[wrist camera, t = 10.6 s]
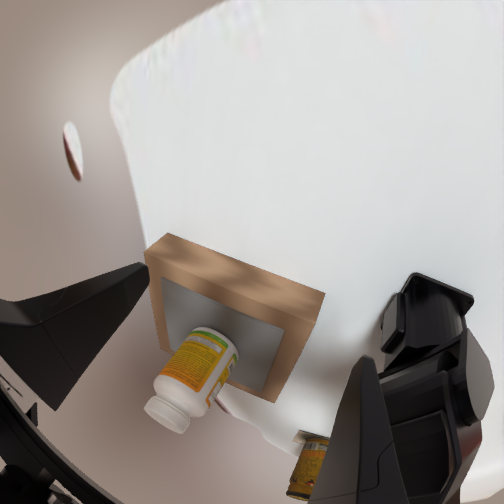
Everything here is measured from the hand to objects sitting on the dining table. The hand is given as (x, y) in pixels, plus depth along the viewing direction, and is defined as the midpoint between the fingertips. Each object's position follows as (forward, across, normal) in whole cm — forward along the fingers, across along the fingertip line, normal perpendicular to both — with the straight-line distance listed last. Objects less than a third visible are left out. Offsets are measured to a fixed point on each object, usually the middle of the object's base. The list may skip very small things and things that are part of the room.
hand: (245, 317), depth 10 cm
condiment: (+12, -14, +42) cm, 46 cm away
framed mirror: (+12, +5, +16) cm, 21 cm away
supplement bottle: (+8, +5, +16) cm, 19 cm away
